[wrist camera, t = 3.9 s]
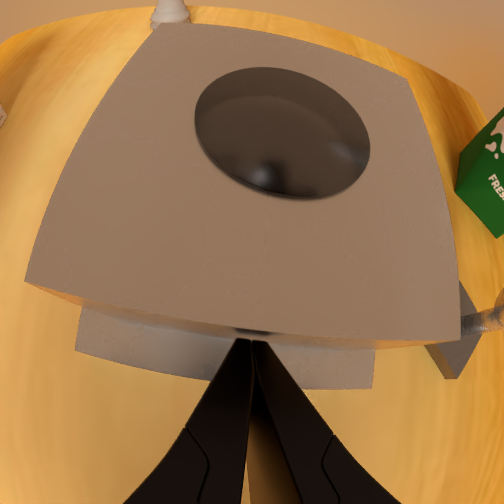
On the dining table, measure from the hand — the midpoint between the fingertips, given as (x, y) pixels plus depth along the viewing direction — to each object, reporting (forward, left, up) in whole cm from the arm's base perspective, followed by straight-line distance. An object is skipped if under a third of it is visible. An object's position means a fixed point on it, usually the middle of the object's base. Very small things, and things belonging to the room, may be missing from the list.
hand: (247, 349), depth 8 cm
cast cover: (+4, +4, -7) cm, 9 cm away
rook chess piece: (+13, +29, -7) cm, 32 cm away
